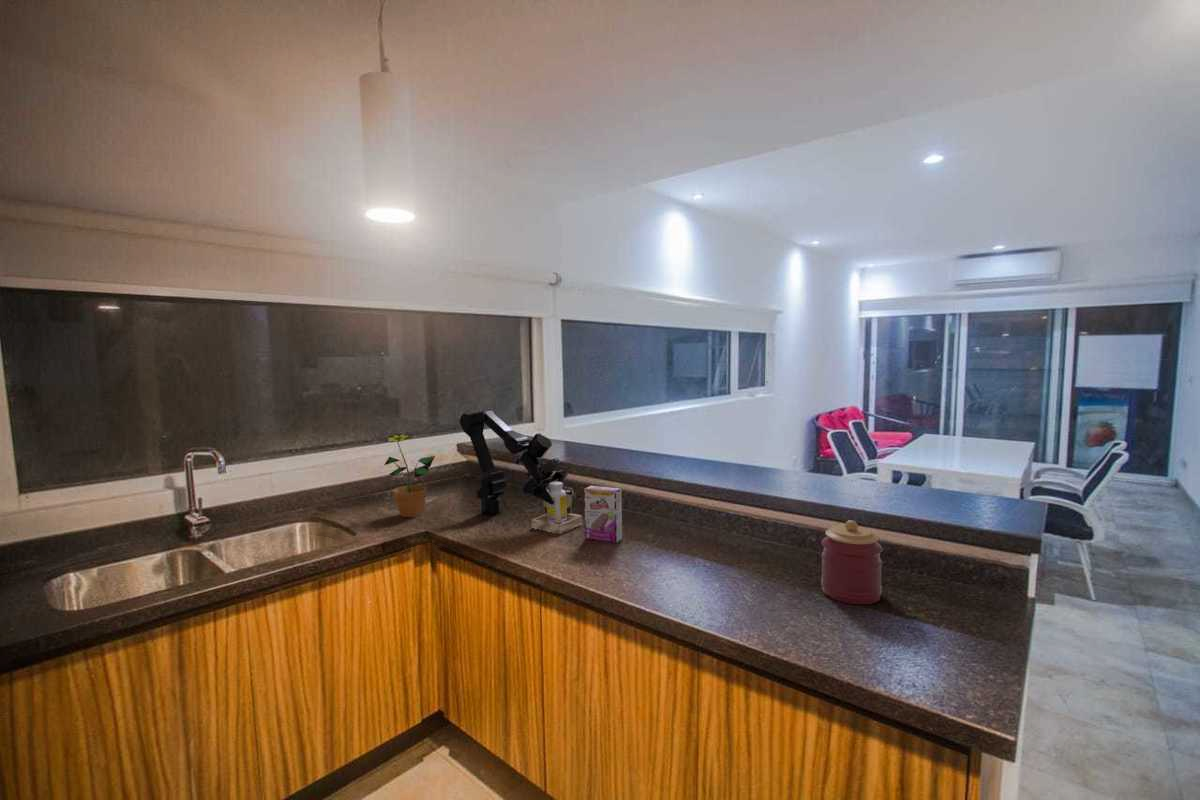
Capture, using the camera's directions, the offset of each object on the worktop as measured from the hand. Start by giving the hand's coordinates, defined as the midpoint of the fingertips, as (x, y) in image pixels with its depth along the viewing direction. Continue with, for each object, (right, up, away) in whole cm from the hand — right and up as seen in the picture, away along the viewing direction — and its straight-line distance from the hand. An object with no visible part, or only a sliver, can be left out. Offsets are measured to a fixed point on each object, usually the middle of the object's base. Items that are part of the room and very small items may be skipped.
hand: (559, 501), depth 181 cm
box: (-1, -9, +1) cm, 9 cm away
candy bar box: (+15, -10, -13) cm, 22 cm away
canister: (+73, -12, -55) cm, 92 cm away
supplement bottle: (-1, -7, +1) cm, 7 cm away
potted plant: (-57, -9, +19) cm, 61 cm away
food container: (-1, -8, +15) cm, 17 cm away
